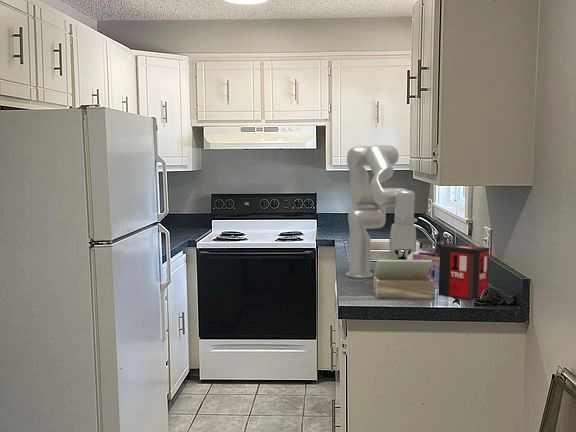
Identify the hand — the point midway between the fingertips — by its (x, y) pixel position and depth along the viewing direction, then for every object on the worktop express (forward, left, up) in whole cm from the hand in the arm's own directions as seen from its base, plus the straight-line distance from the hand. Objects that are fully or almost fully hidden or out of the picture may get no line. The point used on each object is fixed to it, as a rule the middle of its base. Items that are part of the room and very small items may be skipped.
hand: (401, 266), depth 244 cm
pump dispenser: (-51, +30, -12) cm, 60 cm away
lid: (+2, 0, -1) cm, 2 cm away
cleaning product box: (+3, +24, -12) cm, 27 cm away
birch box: (+3, 0, -12) cm, 12 cm away
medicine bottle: (-68, +21, -12) cm, 72 cm away
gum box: (-14, +19, -12) cm, 27 cm away
